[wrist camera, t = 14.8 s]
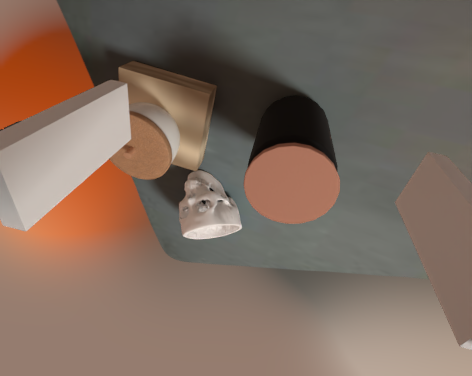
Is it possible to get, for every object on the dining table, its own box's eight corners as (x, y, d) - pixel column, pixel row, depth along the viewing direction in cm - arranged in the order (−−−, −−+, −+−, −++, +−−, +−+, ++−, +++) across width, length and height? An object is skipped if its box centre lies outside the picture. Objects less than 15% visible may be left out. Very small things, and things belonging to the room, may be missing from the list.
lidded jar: (123, 84, 42) (82, 109, 35) (191, 100, 40) (162, 130, 34) (131, 144, 49) (98, 176, 42) (189, 159, 48) (165, 194, 41)
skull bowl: (208, 156, 50) (213, 220, 45) (245, 183, 61) (253, 237, 56) (165, 176, 55) (164, 236, 49) (207, 198, 66) (210, 249, 60)
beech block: (134, 60, 45) (118, 67, 41) (217, 84, 45) (209, 94, 41) (134, 136, 53) (120, 148, 49) (204, 157, 53) (196, 171, 49)
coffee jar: (296, 165, 50) (295, 237, 35) (248, 131, 48) (225, 192, 33) (342, 120, 44) (362, 184, 29) (289, 78, 42) (283, 125, 27)
